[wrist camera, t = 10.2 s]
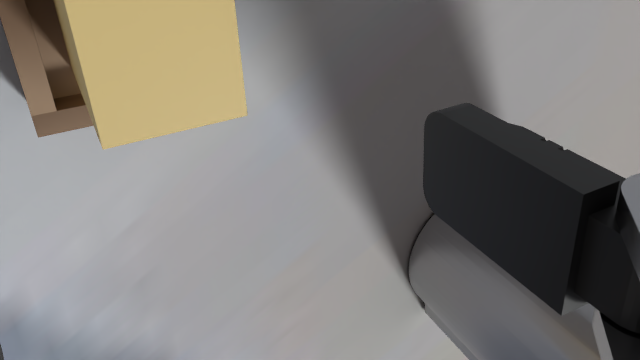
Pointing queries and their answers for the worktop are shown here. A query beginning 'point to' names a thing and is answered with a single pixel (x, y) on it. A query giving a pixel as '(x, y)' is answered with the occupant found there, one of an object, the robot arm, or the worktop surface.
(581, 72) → the worktop surface
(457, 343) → the robot arm
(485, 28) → the worktop surface
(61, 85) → the rail
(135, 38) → the yellow and grey box
